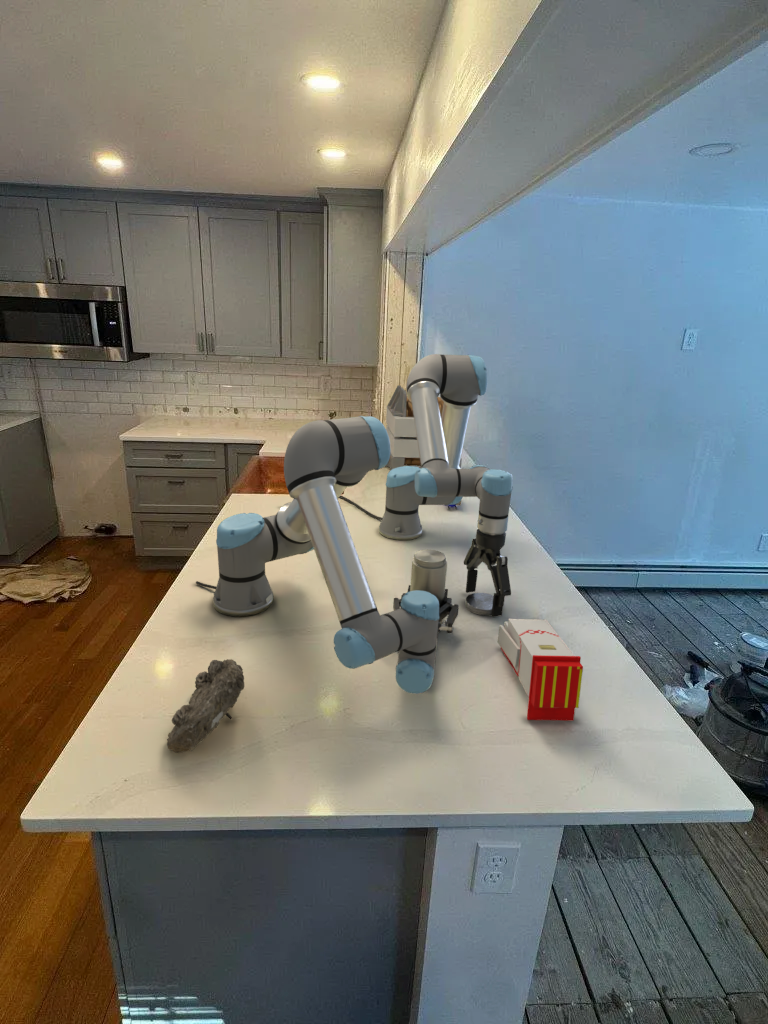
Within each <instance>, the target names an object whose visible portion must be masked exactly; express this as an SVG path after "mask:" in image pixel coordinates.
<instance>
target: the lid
mask: <svg viewBox="0 0 768 1024" xmlns="http://www.w3.org/2000/svg"><path fill="white" fill-rule="evenodd" d="M493 597H494V594H491V593H486V592H472V593H469V594H468V595H467V596H466V597H465V601H464V605H465V608H466V610H468V611H469V612H471V613H472V614H476V615H477V616H483V617H489V616H490V617H492V616H491V613H492V605H493Z"/></svg>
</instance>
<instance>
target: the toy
mask: <svg viewBox="0 0 768 1024" xmlns="http://www.w3.org/2000/svg"><path fill="white" fill-rule="evenodd" d="M498 626H499V627H498V634H497V644H498V646H500V650H501V652H502V653H503V655H504V657H505V658H506V661H508V663H509V665H510V667H511V668H512V670H513V671H514V673H515V675H516V677H518V680H519V682H520V684H521V686H522V687H523V690H524V692H525V693H526V695H527V697H528V702H527V703H528V704H527V712H526V720H527V721H562V722H563V721H567V722H568V721H570V722H572V721H574V719H575V714H576V713H575V712H576V709H578V708H579V705H580V697H581V687H582V680H583V672H584V671H583V670H584V666H583V664H582V663H581V656H580V655H575V654H574V653H573V651H572V650H571V649H570V648H569V647H568V646H567V644H566V643H565V642H564V640H563V639H562V638H561V636H560V635H559V634H558V633H557V631H556V630H555V629H554V627H553V626H552V625H551V624H550V623H549V621H548V620H547V619H539V618H538V619H534V618H533V619H532V618H508V621H504V623H503V624H499V625H498Z"/></svg>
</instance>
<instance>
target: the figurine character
mask: <svg viewBox="0 0 768 1024" xmlns="http://www.w3.org/2000/svg"><path fill="white" fill-rule="evenodd" d="M461 505H462V500H461V501H460V502H459V503H457V504H453V505H447V509H448V510H451V508H453V507H454V510H457V509H458V507H459V506H461ZM450 507H451V508H450Z"/></svg>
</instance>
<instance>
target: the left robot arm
mask: <svg viewBox="0 0 768 1024" xmlns="http://www.w3.org/2000/svg"><path fill="white" fill-rule="evenodd" d="M285 449H286V450H285V453H284V459H283V477H284V482H285V486H286V489H287V492H288V494H289V497H290V498H292V501H290V502H286V503H284V504H283V505H282V506H280V508H279V509H278V511H277V513H276V514H274V515H269V516H264V517H263V516H262V515H261V514H259V513H255V512H248V513H246V512H243V513H237V514H233V515H230V516H228V517H226V518H225V519H223V520H222V521H221V522H220V523H219V524H218V525H217V528H216V540H215V543H216V544H215V545H216V549H217V563H218V579H217V584H216V585H211V584H207V583H203V582H201V581H198V580H196V581H195V584H196V585H199V586H201V587H204V588H209V589H212V590H214V593H213V598H212V599H213V608H214V609H215V611H217V612H219V613H220V614H222V615H226V616H228V617H229V616H230V617H247V616H253V615H257V614H260V613H262V612H264V611H266V610H268V609H269V608H270V607H271V606H272V605H273V602H274V593H273V589H272V587H271V585H270V582H269V580H268V578H267V575H266V563H269V562H274V561H277V560H282V559H286V558H289V557H293V556H297V555H304V554H308V553H309V552H312V551H314V553H315V555H316V559H317V562H318V564H319V567H320V570H321V572H322V576H323V578H324V581H325V584H326V587H327V590H328V592H329V596H330V599H331V602H332V605H333V606H334V607H333V608H334V610H335V612H336V615H337V618H338V621H339V624H340V627H341V628H340V629H339V630H337V631H336V632H335V634H334V636H333V645H334V646H333V650H334V653H335V655H336V657H337V659H338V661H339V662H340V663H341V664H342V666H344V667H345V668H347V669H353V670H355V669H358V668H360V667H364V666H367V665H371V664H374V662H376V661H378V660H381V659H383V658H385V657H389V656H390V655H392V654H395V653H397V654H398V655H397V656H398V657H397V664H396V666H395V682H396V683H397V686H398V687H399V688H400V689H401V690H402V691H404V692H405V693H407V694H408V693H409V694H414V695H419V694H423V693H425V692H427V691H428V690H429V689H430V688H431V686H432V684H433V680H434V678H435V666H436V655H437V648H438V638H439V633H441V631H446V633H447V634H452V633H453V626H454V624H455V622H456V619H457V618H458V615H459V607H460V605H459V604H457V603H456V604H452V602H453V599H452V597H448V593H449V588H445V595H444V605H443V606H442V607H441V608H440V609H439V601H438V599H437V598H436V596H434V595H432V594H431V593H429V592H426V591H420V590H415V591H410V586H411V584H408V587H407V592H403V593H402V594H401V595H400V598H398V597H394V598H393V602H392V603H393V605H392V609H393V610H392V611H389V612H386V613H383V614H380V612H379V609H378V607H377V604H376V601H375V599H374V595H373V593H372V591H371V588H370V585H369V581H368V580H367V579H368V578H367V576H366V574H365V570H364V568H363V566H362V562H361V559H360V557H359V555H358V550H357V549H356V546H355V543H354V540H353V538H352V535H351V531H350V529H349V526H348V523H347V521H346V518H345V515H344V513H343V509H342V507H341V504H340V502H339V498H340V495H341V496H342V494H343V493H344V492H345V490H346V489H347V488H350V487H354V486H356V485H358V484H360V482H361V481H362V480H363V479H364V477H366V475H367V474H368V473H369V472H371V471H379V470H380V469H383V468H385V467H387V466H386V465H387V463H388V461H389V458H390V450H391V449H390V440H389V436H388V433H387V431H386V427H385V425H384V424H383V422H382V421H381V420H380V419H378V418H377V417H374V416H370V415H368V416H363V415H358V416H353V417H352V416H351V417H345V418H334V419H320V420H313V421H309V422H307V423H305V424H303V425H301V427H299V428H298V429H297V430H296V431H295V432H294V433H293V435H292V436H291V438H290V439H289V441H288V443H287V447H286V448H285ZM446 617H447V618H446ZM444 619H445V620H444ZM441 620H442V621H443V620H444V622H442V624H441V623H440V621H441Z"/></svg>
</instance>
